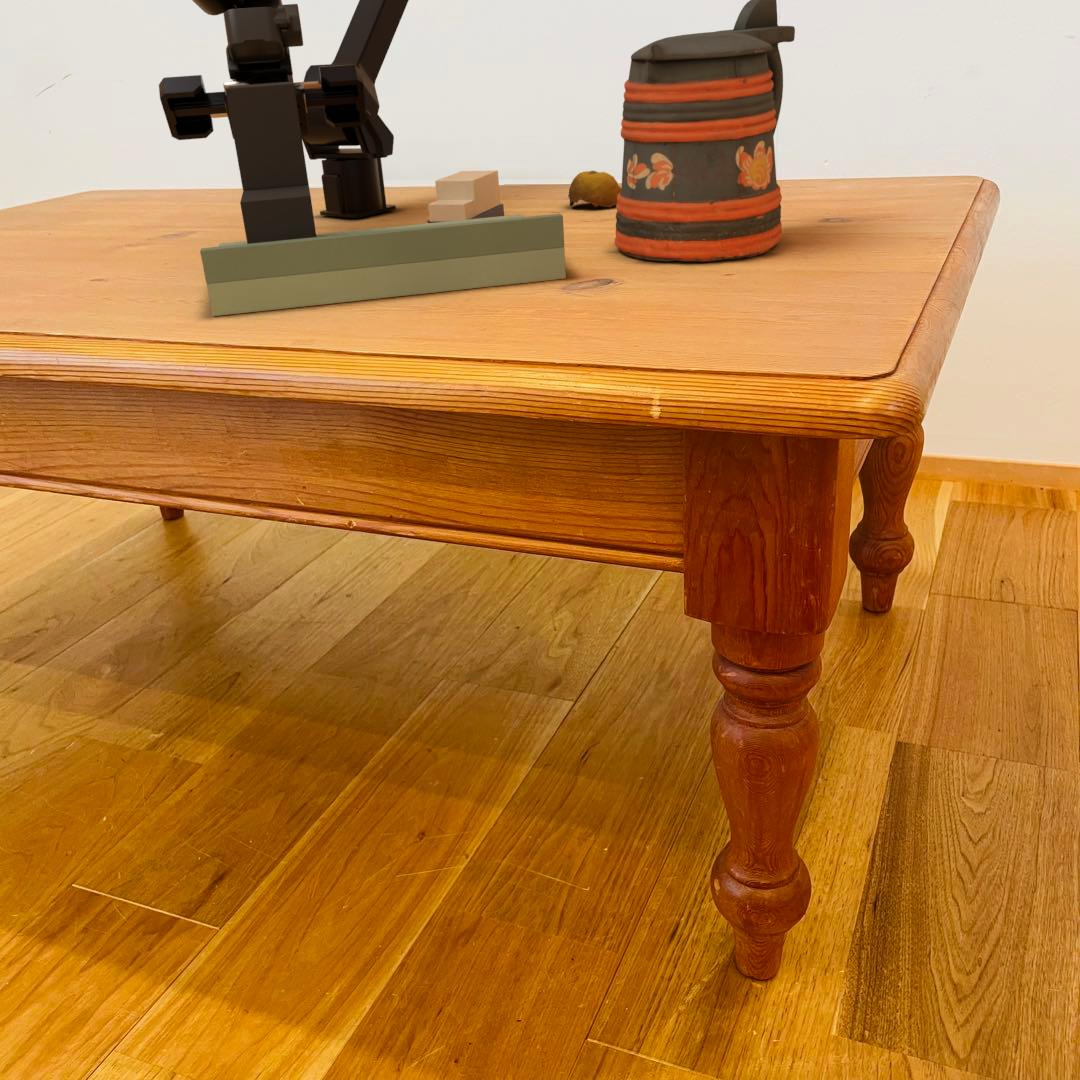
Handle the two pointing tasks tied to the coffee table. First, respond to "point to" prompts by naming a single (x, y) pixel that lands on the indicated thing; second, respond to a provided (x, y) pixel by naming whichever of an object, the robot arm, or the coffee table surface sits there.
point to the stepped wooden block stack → (466, 197)
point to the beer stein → (703, 143)
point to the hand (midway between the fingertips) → (275, 173)
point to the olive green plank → (383, 263)
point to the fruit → (594, 189)
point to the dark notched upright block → (271, 162)
